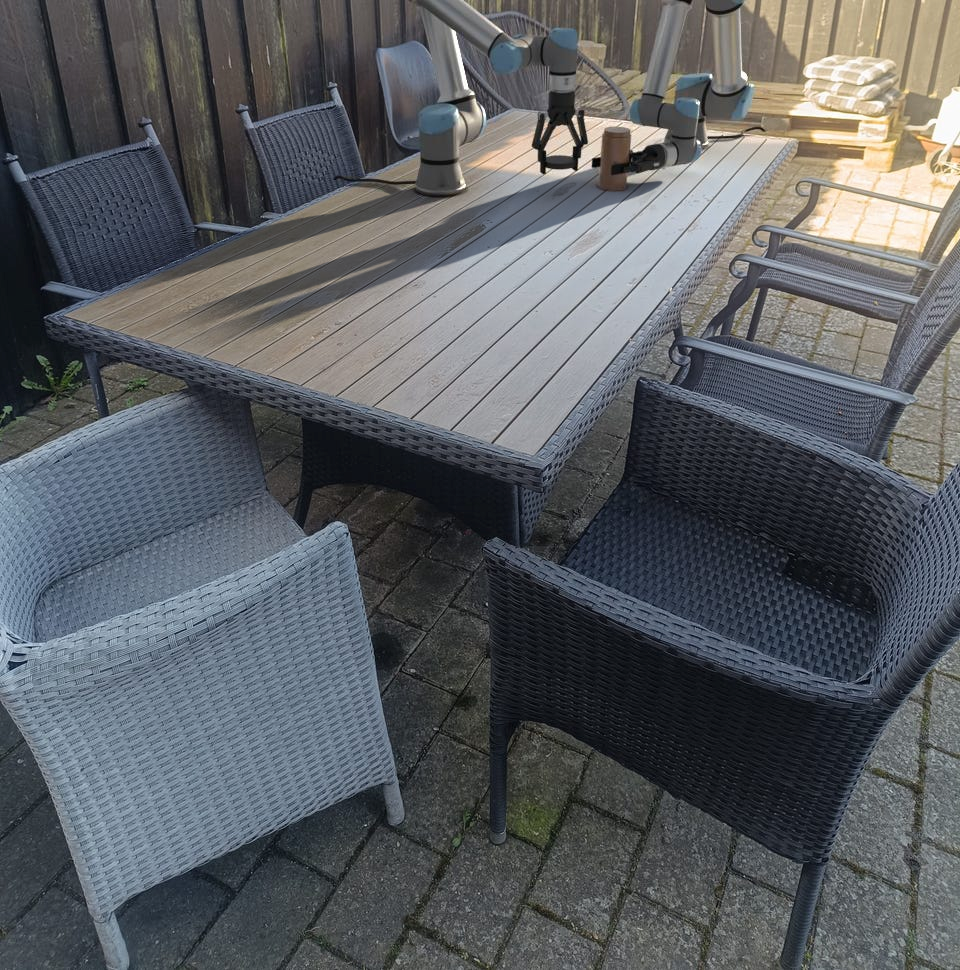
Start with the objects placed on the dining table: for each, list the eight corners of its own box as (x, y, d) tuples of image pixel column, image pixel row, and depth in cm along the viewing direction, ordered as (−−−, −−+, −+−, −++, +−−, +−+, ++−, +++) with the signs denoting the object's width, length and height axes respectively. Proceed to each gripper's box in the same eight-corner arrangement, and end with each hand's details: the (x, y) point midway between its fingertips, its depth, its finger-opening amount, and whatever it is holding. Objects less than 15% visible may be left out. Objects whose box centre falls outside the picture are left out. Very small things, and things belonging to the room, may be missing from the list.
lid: (581, 163, 252) (581, 157, 251) (567, 171, 245) (567, 165, 244) (551, 159, 256) (551, 153, 255) (537, 167, 249) (537, 161, 248)
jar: (600, 190, 258) (605, 133, 248) (595, 182, 265) (600, 126, 255) (628, 190, 258) (634, 132, 248) (623, 182, 265) (628, 125, 255)
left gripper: (530, 95, 233) (528, 178, 246) (603, 89, 239) (598, 171, 252) (520, 90, 239) (519, 171, 252) (592, 85, 244) (587, 164, 257)
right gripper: (680, 176, 260) (623, 188, 250) (634, 160, 275) (579, 171, 265) (683, 151, 256) (626, 162, 246) (637, 136, 270) (581, 146, 261)
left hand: (558, 171), depth 252 cm, fingers closed on lid, 10 cm apart
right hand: (602, 166), depth 255 cm, fingers closed on jar, 9 cm apart
